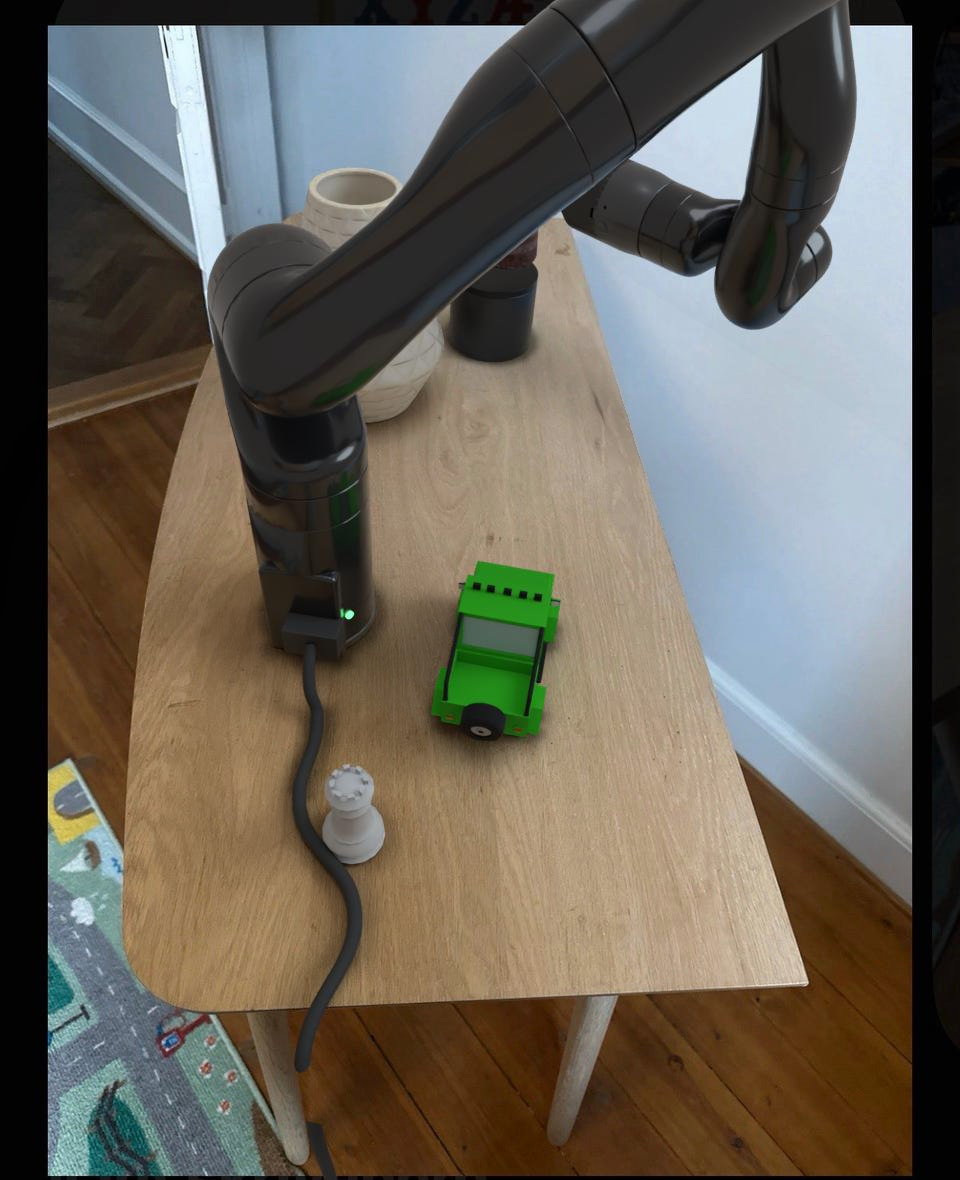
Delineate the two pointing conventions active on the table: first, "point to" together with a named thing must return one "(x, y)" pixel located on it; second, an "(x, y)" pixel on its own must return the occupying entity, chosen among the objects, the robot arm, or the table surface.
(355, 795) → the rook chess piece
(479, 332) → the canister
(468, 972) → the table surface
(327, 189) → the vase
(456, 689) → the toy car
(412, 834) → the table surface
